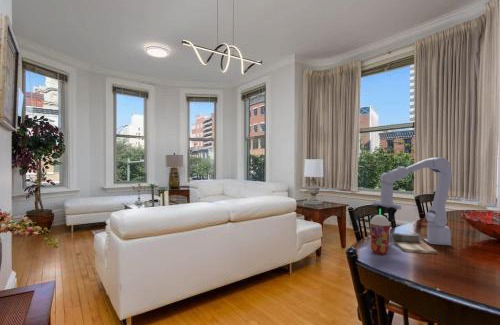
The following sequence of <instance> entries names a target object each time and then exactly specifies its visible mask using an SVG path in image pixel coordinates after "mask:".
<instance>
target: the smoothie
mask: <svg viewBox="0 0 500 325" xmlns="http://www.w3.org/2000/svg"><path fill="white" fill-rule="evenodd" d="M378 214H379V215H376V216H374V217H373V218H372V219H371V221H369V235H370V249H371V252H372V253H373V254H375V255H378V256H385V255H387V253H388V251H389V242H390V230H391V222H389V221H388V219H387V218H388V217H387V218H386V217H385V216H383V215H381V209H379V213H378Z"/></svg>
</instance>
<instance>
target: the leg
mask: <svg viewBox="0 0 500 325" xmlns="http://www.w3.org/2000/svg"><path fill="white" fill-rule="evenodd" d="M392 239H393V240H394V241H408V242H420V241H421V240H420V239H421V234H419V233H415V234H412V233H411V234H410V233H399V232H392V236H391V240H392Z"/></svg>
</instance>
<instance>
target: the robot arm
mask: <svg viewBox="0 0 500 325" xmlns="http://www.w3.org/2000/svg"><path fill="white" fill-rule="evenodd" d="M425 168H426V169H430V170H431V171H432V172H434V173H435V174H436V175H437V176H438V179H437V183H436V188H435V192H434V197H433V200H432V205H431V206H430V207H429V208H428V211H427V212H426V214H425V220H426V221H427V229H426V230H427V234H426V235H427V236H426V237H427V238H423V240H424V241H426V243H429V244H430V245H441V246H442V245H443V246H452V242H451V239H452V238H451V236H452V235H451V234H452V233H451V228H450V227H449V226H448V225H447V223H448V218H447V214H448V213H447V210H446V205H447V200H448V195H449V190H450V188H451V187H450V186H451V182H452V178H453V172H452V169H451V163H450V161H448V159H447V158H446V157H442V156H441V157H439V156H438V157H434V156H433V157H429V158H426V159H423V160H420V161H418V162H415V163H413V164H411V165H408V166H406V167H405V166H399V165H398V166H397V167H396V168H395V169H392V170H390V169H389V170H388V171H387V172H383V173H382V174H381V175H380V176H379V180H380V201H373V202H372V205H373V206H375V208H376V211H377V212H378V213H377V214H379V209H381V214H384V215H385V211H386V210H387V218H388V221H389V223H392V222H393V218H394V216H395V215H396V213H397V211H398V210H401V209H402V205H401V204H394V200H393V198H394V183H395V182H396V181H400V180H401V179H405V178H407V177H408V176H409V174H410V173H413V172H416V171H419V170H422V169H425Z"/></svg>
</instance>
